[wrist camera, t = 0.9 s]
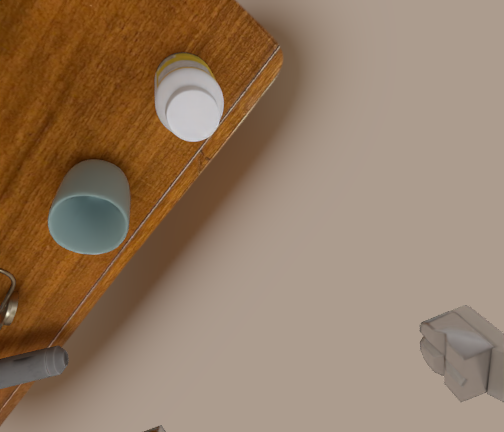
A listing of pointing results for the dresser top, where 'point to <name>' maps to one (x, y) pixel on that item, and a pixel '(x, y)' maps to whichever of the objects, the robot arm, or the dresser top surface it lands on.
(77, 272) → the dresser top surface
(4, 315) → the light fixture
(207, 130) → the pill bottle
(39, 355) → the flashlight
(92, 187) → the cup
